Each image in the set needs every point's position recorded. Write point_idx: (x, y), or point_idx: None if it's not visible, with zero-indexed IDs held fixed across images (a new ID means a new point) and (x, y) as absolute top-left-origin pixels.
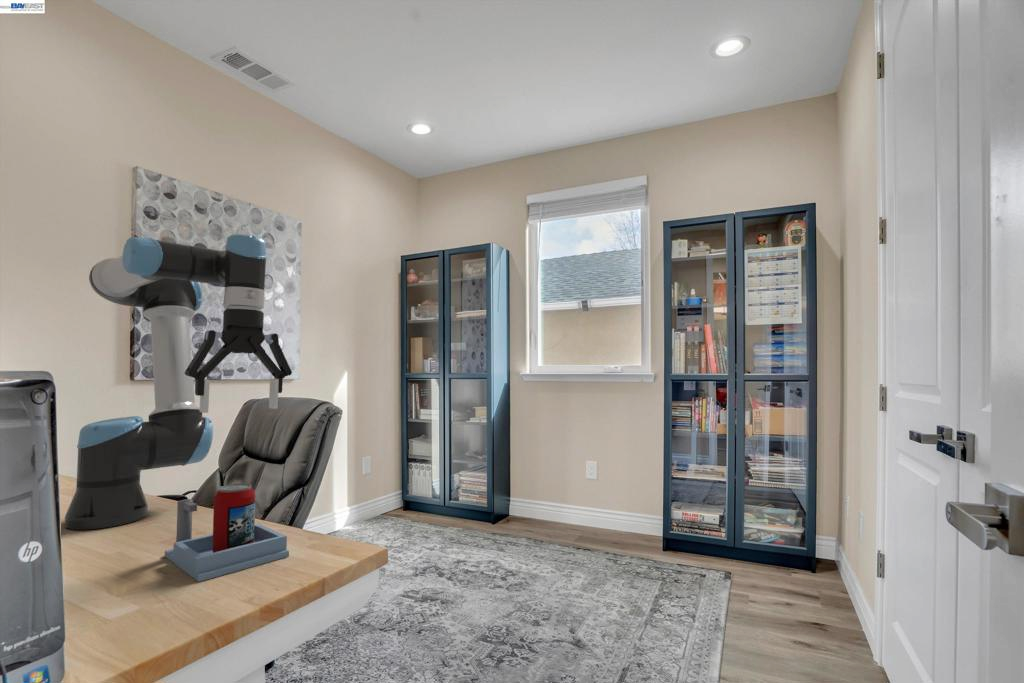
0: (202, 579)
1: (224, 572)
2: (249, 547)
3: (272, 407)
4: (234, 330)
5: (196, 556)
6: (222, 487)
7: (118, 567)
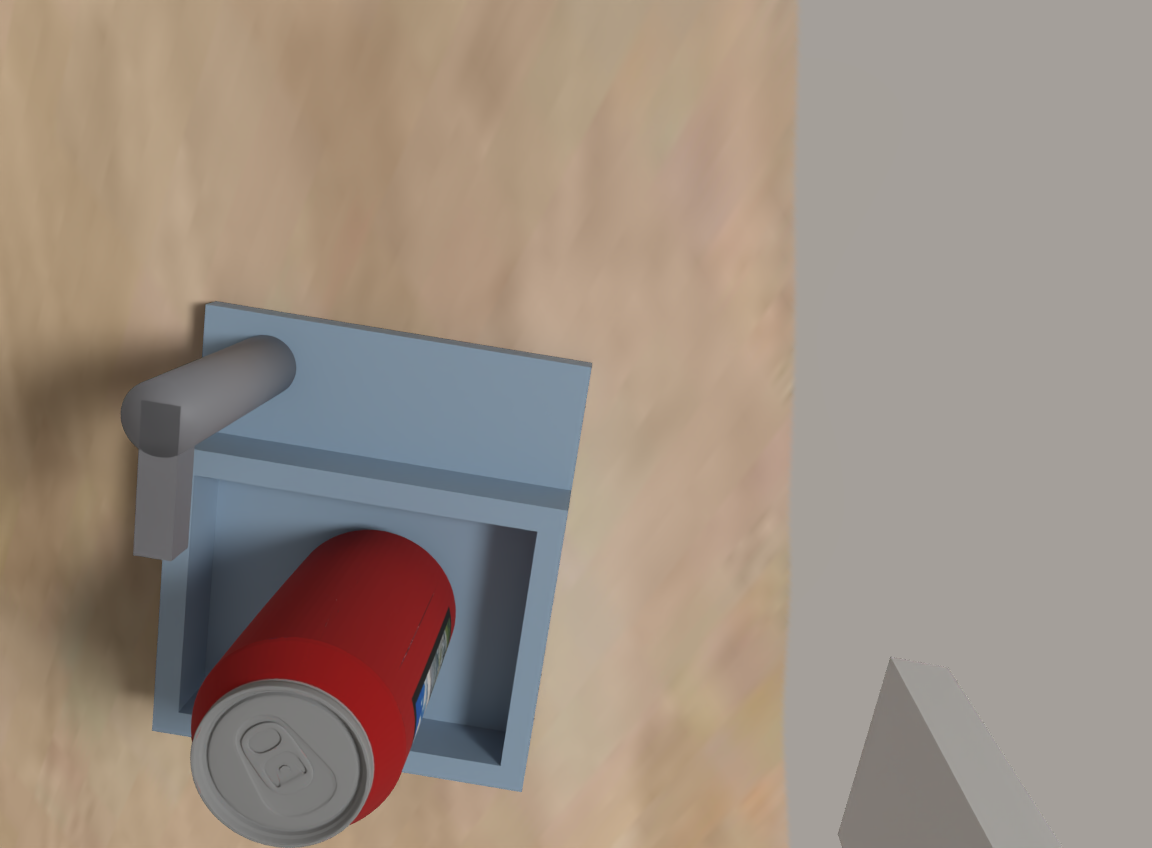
0: None
1: None
2: None
3: (858, 790)
4: None
5: (159, 706)
6: (235, 699)
7: (42, 274)
